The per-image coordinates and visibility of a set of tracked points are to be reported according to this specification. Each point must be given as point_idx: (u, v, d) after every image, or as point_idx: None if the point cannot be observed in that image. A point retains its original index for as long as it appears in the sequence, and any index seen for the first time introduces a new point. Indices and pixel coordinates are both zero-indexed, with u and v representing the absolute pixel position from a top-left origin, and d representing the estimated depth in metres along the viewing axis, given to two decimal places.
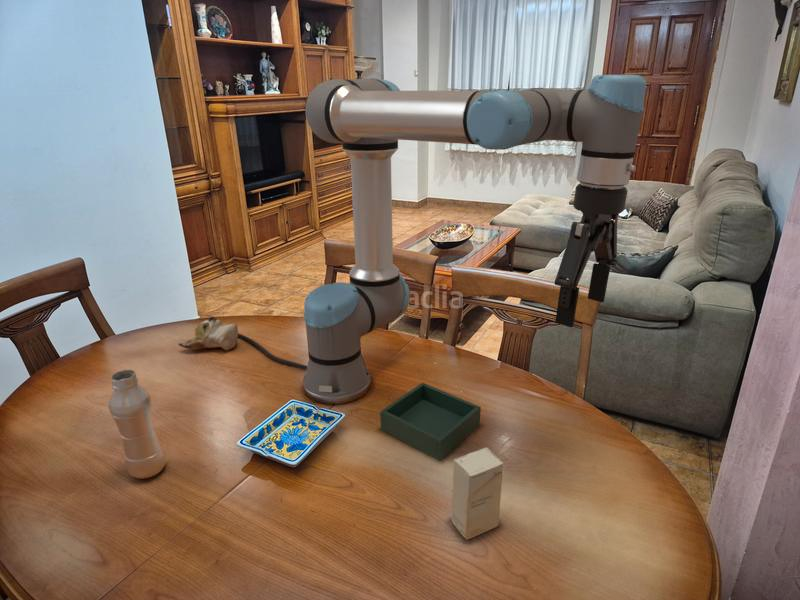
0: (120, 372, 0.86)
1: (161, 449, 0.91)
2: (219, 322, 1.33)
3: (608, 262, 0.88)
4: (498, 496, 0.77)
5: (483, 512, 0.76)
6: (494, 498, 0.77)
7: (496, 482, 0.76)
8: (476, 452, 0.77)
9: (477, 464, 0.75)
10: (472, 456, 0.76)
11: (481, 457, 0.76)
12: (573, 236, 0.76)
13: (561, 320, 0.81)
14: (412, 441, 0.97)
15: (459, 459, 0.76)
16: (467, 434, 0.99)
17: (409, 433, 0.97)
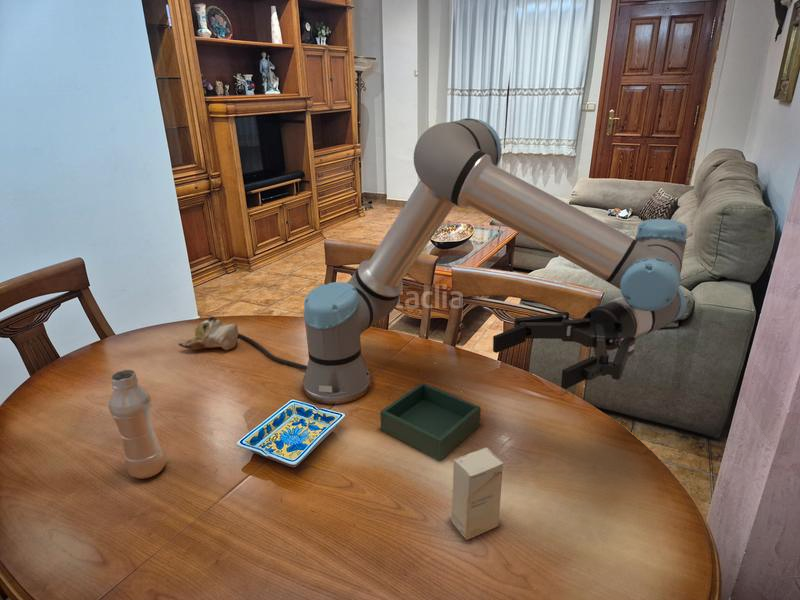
0: (120, 372, 0.86)
1: (161, 449, 0.91)
2: (219, 322, 1.33)
3: (526, 337, 0.85)
4: (498, 496, 0.77)
5: (483, 512, 0.76)
6: (494, 498, 0.77)
7: (496, 482, 0.76)
8: (476, 452, 0.77)
9: (477, 464, 0.75)
10: (472, 456, 0.76)
11: (481, 457, 0.76)
12: (629, 346, 0.77)
13: (569, 376, 0.70)
14: (412, 441, 0.97)
15: (459, 459, 0.76)
16: (467, 434, 0.99)
17: (409, 433, 0.97)
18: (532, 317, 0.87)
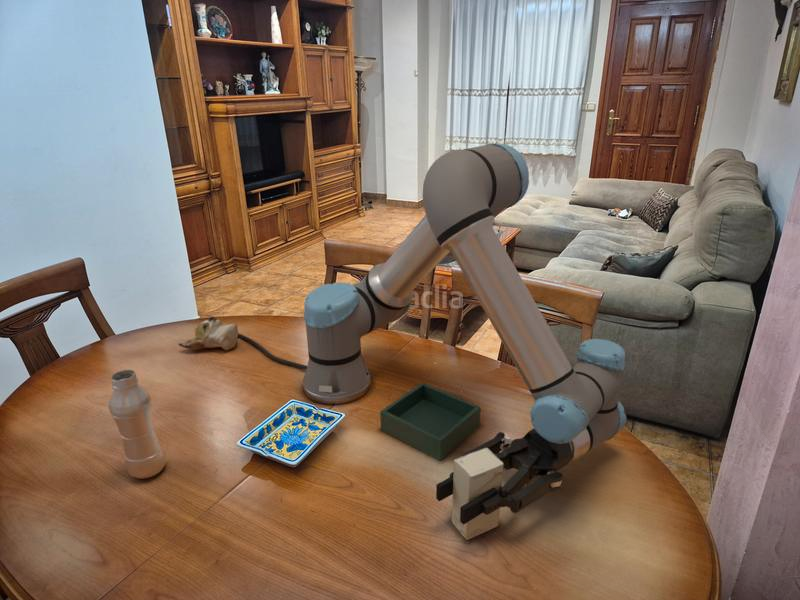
0: (120, 372, 0.86)
1: (161, 449, 0.91)
2: (219, 322, 1.33)
3: None
4: None
5: (483, 513, 0.76)
6: None
7: (496, 482, 0.76)
8: (476, 452, 0.77)
9: (477, 465, 0.75)
10: (472, 456, 0.76)
11: (481, 457, 0.76)
12: (550, 482, 0.77)
13: (467, 513, 0.72)
14: (412, 441, 0.97)
15: (459, 459, 0.76)
16: (467, 434, 0.99)
17: (409, 433, 0.97)
18: (477, 449, 0.84)
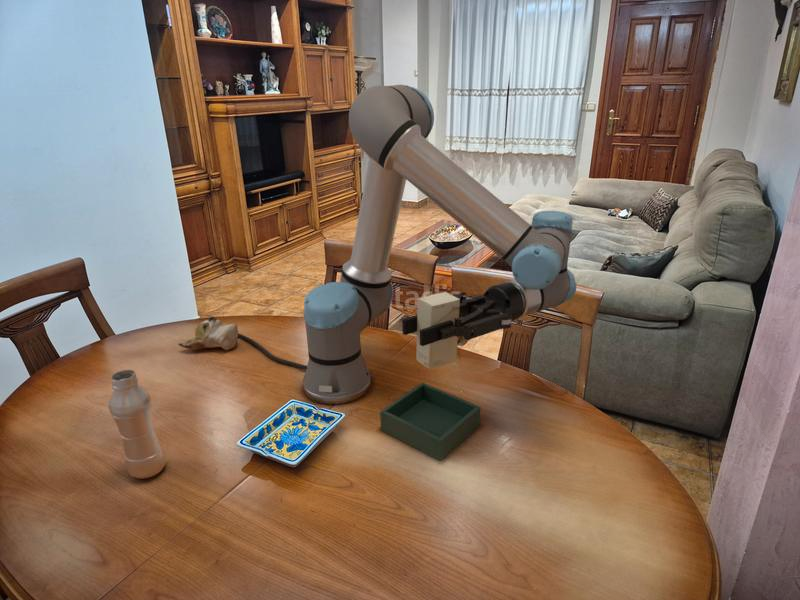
0: (120, 372, 0.86)
1: (161, 449, 0.91)
2: (219, 322, 1.33)
3: None
4: None
5: (443, 345, 0.88)
6: None
7: (454, 316, 0.88)
8: (436, 294, 0.89)
9: (437, 300, 0.86)
10: (433, 296, 0.88)
11: (440, 296, 0.88)
12: (501, 319, 0.89)
13: (425, 335, 0.84)
14: (412, 441, 0.97)
15: (422, 298, 0.87)
16: (467, 434, 0.99)
17: (409, 433, 0.97)
18: None
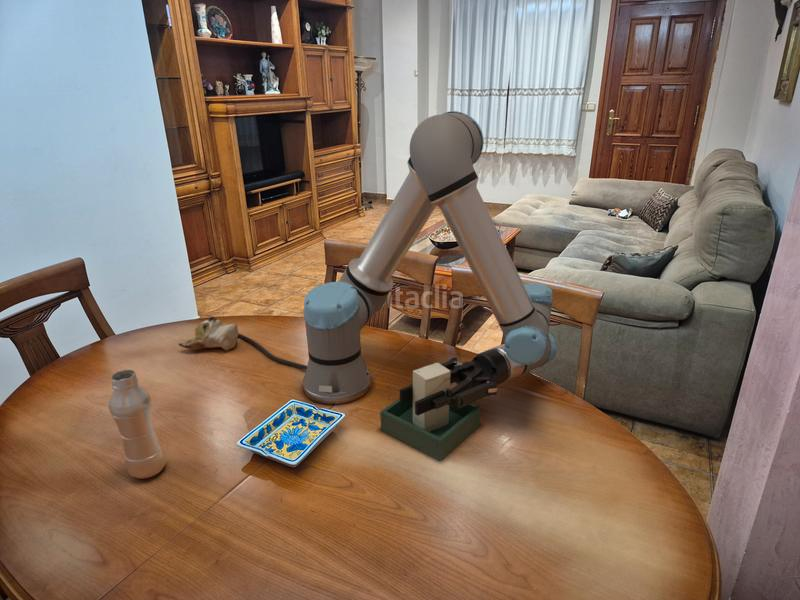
0: (120, 372, 0.86)
1: (161, 449, 0.91)
2: (219, 322, 1.33)
3: None
4: None
5: (436, 411, 0.99)
6: None
7: (446, 386, 0.98)
8: (429, 365, 0.99)
9: (430, 372, 0.97)
10: (426, 368, 0.98)
11: (433, 368, 0.98)
12: (487, 388, 0.99)
13: (420, 406, 0.94)
14: (412, 441, 0.97)
15: (417, 370, 0.98)
16: (467, 434, 0.99)
17: (409, 433, 0.97)
18: None
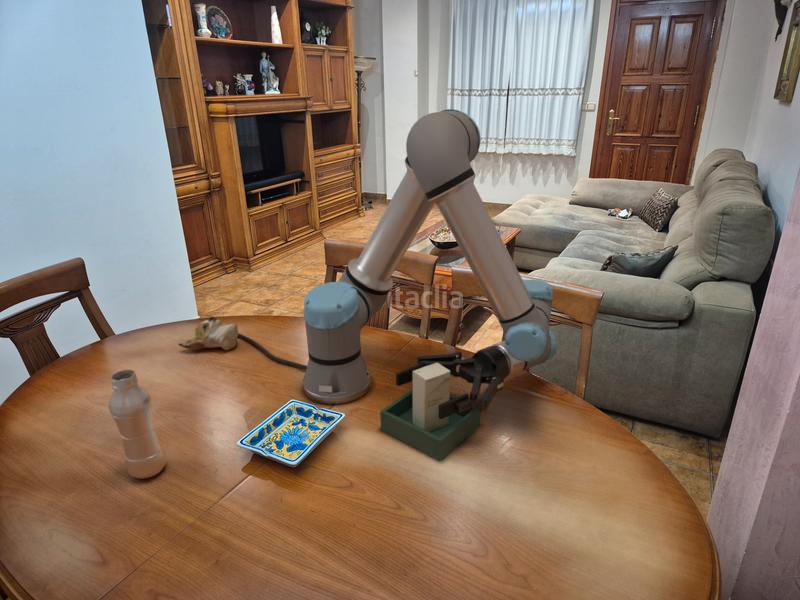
0: (120, 372, 0.86)
1: (161, 449, 0.91)
2: (219, 322, 1.33)
3: None
4: (447, 398, 0.99)
5: (436, 411, 0.99)
6: (444, 399, 0.99)
7: (445, 386, 0.98)
8: (429, 365, 0.99)
9: (430, 373, 0.97)
10: (426, 368, 0.98)
11: (433, 368, 0.98)
12: (497, 384, 0.99)
13: (444, 410, 0.92)
14: (412, 441, 0.97)
15: (416, 370, 0.98)
16: (467, 434, 0.99)
17: (409, 433, 0.97)
18: (432, 356, 1.09)
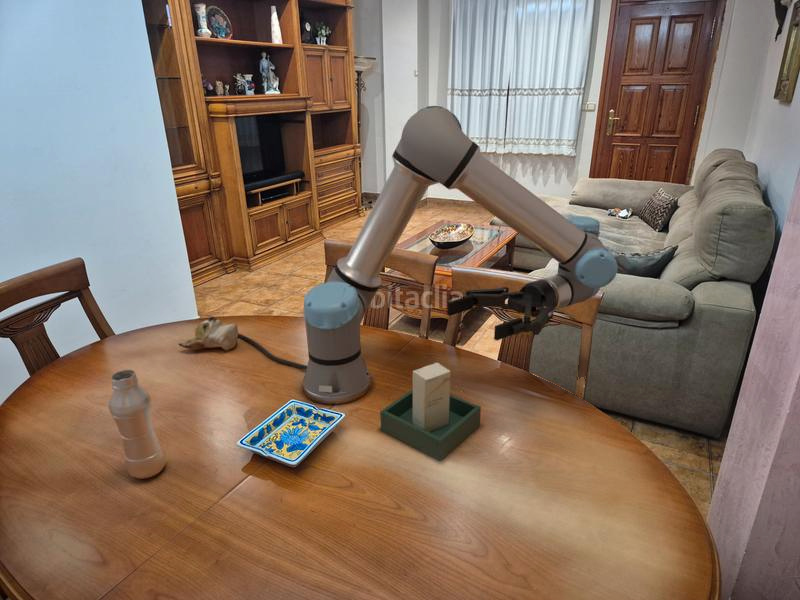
0: (120, 372, 0.86)
1: (161, 449, 0.91)
2: (219, 322, 1.33)
3: (474, 305, 1.09)
4: (447, 398, 0.99)
5: (436, 411, 0.99)
6: (444, 400, 0.99)
7: (445, 386, 0.98)
8: (429, 365, 0.99)
9: (430, 373, 0.97)
10: (426, 368, 0.98)
11: (433, 368, 0.98)
12: (548, 312, 1.01)
13: (500, 331, 0.94)
14: (412, 441, 0.97)
15: (416, 370, 0.98)
16: (467, 434, 0.99)
17: (409, 433, 0.97)
18: (480, 290, 1.11)
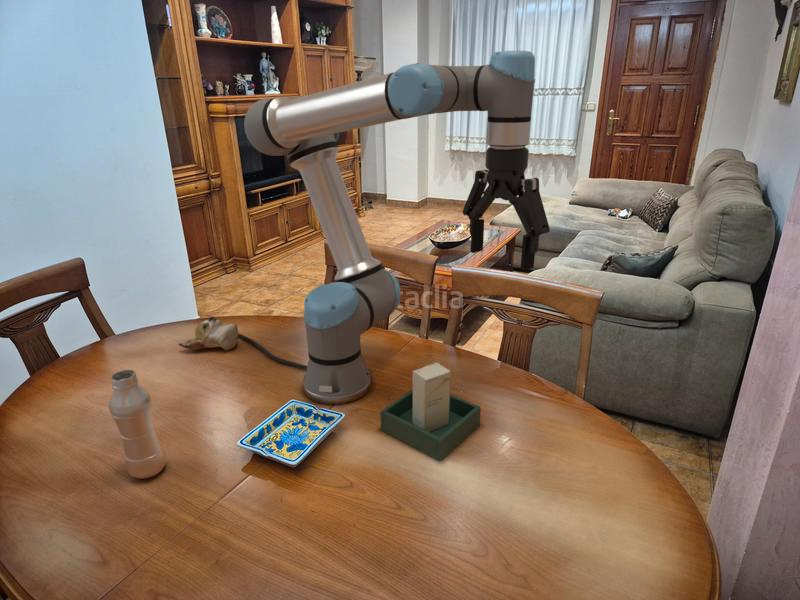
0: (120, 372, 0.86)
1: (161, 449, 0.91)
2: (219, 322, 1.33)
3: (481, 215, 1.03)
4: (447, 398, 0.99)
5: (436, 411, 0.99)
6: (444, 400, 0.99)
7: (445, 386, 0.98)
8: (429, 365, 0.99)
9: (430, 373, 0.97)
10: (426, 368, 0.98)
11: (433, 368, 0.98)
12: (532, 191, 0.89)
13: (527, 266, 0.94)
14: (412, 441, 0.97)
15: (416, 370, 0.98)
16: (467, 434, 0.99)
17: (409, 433, 0.97)
18: (468, 201, 1.01)
